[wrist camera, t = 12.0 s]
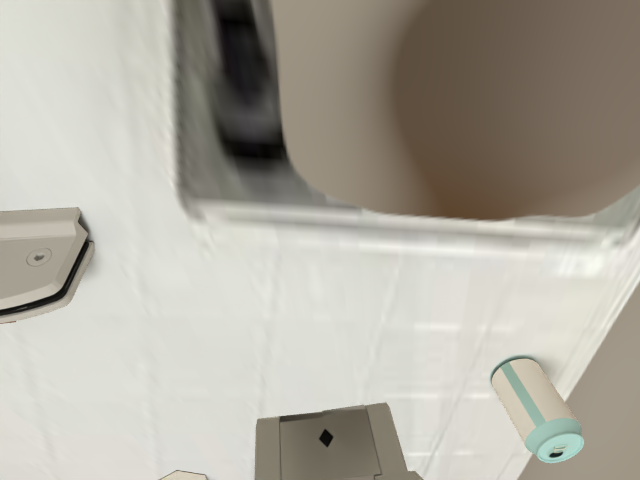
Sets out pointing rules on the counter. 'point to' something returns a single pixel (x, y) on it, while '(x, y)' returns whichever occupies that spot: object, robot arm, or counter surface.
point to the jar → (184, 476)
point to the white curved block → (40, 261)
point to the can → (537, 411)
